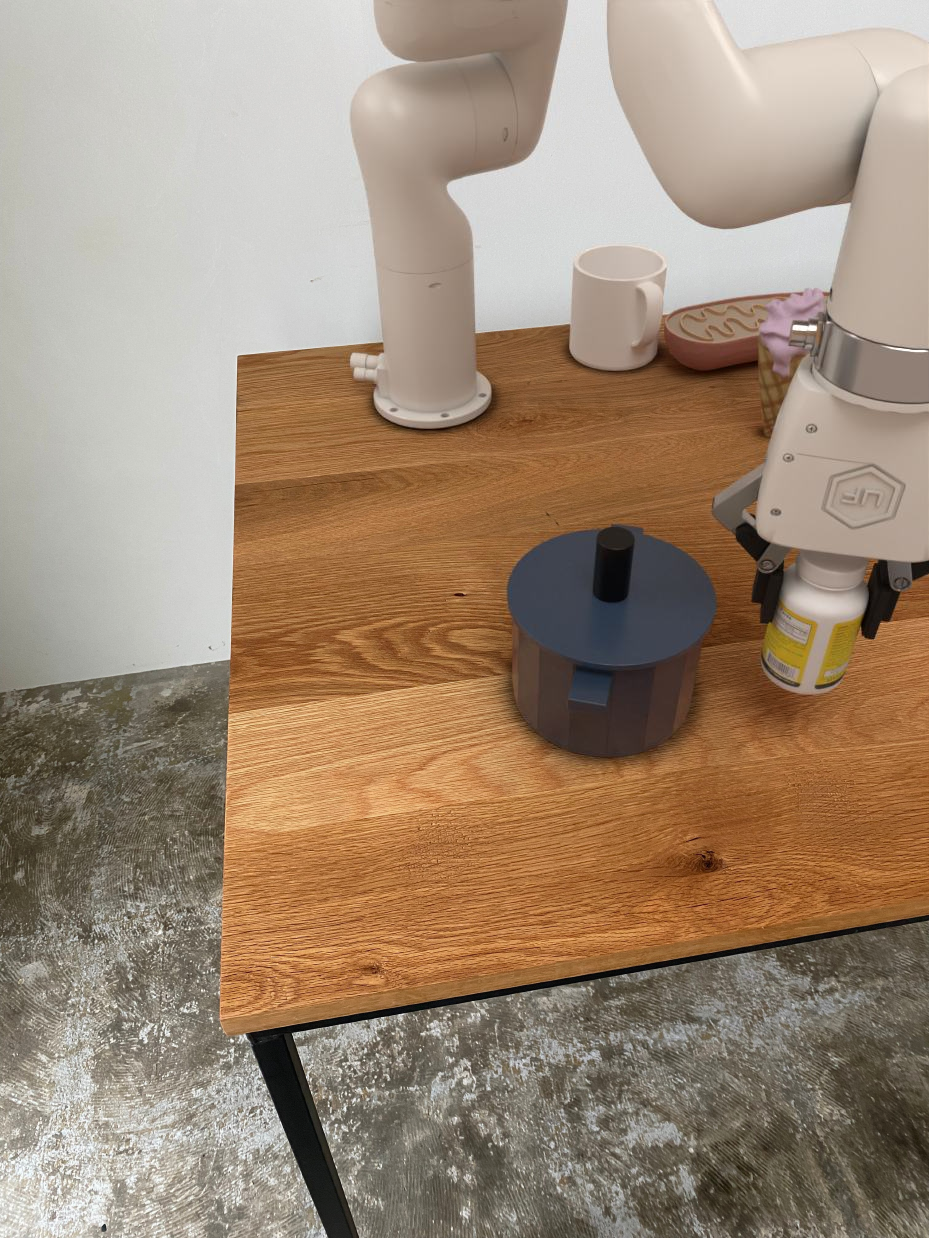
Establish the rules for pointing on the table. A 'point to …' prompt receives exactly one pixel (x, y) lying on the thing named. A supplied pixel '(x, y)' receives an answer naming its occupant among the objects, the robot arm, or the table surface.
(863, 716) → the table surface
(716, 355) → the mitochondrion model
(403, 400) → the robot arm
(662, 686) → the pot
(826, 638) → the supplement bottle
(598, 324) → the mug
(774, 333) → the ice cream cone
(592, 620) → the pot lid
